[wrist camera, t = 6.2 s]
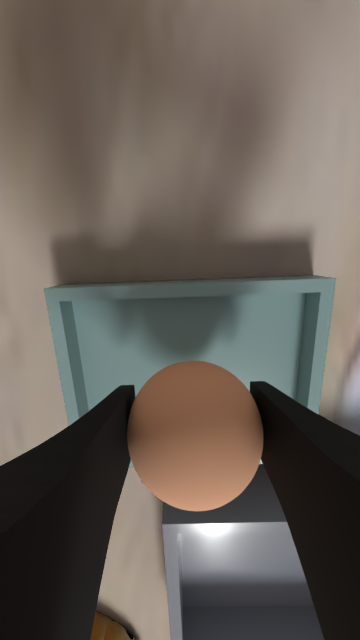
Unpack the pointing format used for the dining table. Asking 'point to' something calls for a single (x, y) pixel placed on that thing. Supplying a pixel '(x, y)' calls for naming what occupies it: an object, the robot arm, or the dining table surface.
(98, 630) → the pastry
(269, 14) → the dining table surface
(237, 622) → the open square box
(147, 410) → the egg
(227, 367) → the tray
